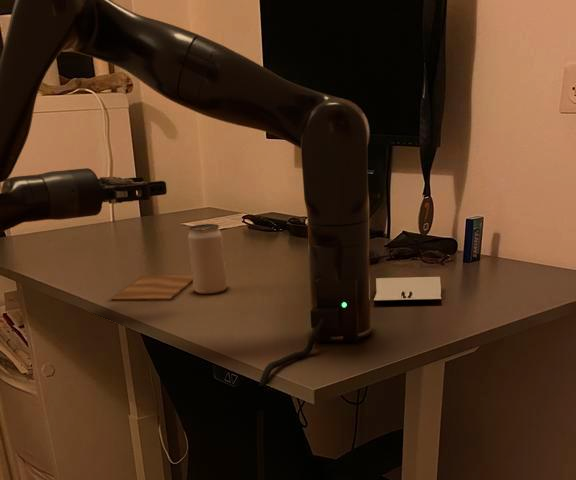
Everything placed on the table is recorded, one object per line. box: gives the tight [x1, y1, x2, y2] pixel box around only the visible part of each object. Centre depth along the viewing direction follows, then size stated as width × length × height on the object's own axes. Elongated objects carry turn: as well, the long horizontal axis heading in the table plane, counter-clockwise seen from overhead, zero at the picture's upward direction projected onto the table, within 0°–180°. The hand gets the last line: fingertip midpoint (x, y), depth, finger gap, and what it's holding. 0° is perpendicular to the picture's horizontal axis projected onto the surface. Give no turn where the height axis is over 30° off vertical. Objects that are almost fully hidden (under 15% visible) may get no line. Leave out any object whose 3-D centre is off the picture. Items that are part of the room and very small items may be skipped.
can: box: [187, 223, 228, 295], centre depth 153 cm, size 6×6×12 cm
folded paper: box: [373, 276, 442, 301], centre depth 143 cm, size 12×12×2 cm
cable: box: [369, 248, 420, 264], centre depth 169 cm, size 14×28×2 cm, turn 126°
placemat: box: [111, 274, 193, 302], centre depth 160 cm, size 18×12×1 cm, turn 169°
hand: (154, 185), depth 141 cm, fingers open, 8 cm apart
